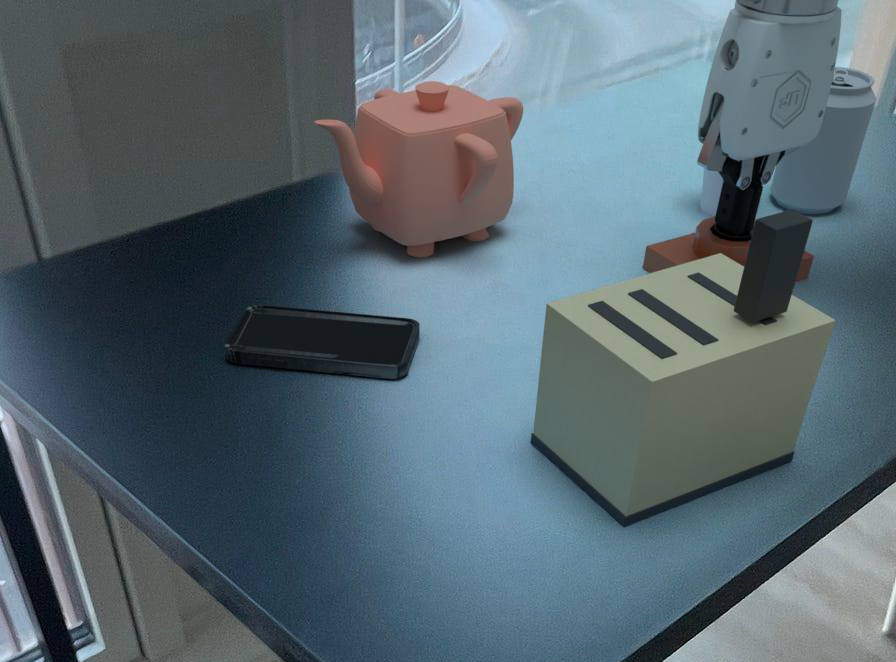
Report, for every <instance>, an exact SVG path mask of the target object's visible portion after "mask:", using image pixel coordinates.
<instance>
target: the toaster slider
mask: <svg viewBox="0 0 896 662" xmlns="http://www.w3.org/2000/svg"><path fill="white" fill-rule="evenodd" d="M755 220H756V221H755V225H754V230H753V234H752V238H751V242H750V246H749V250H748V254H747V258H746V262H745V266H744V270H743V274H742V278H741V282H740V286H739V290H738V294H737V298H736V302H735V306H734V312H736V313H737V314H739V315H740V316H742V317H744V318H745V319H747V320H748V321H750V322H752V323H753V322H757V321H760V320H763V319H766V318H769V317H772V316H775V315H778V314H781V313H784V312H787V309H788V306H789V302H790V299H791V295H793V291H794V289H795V288H794V287H795V285H796V282H795V281H796V278H797V274H798V271H799V267H800V264H801V260H802V257H803V254H804V251H806V250H805V249H806V245H807V243H808V239H809V236H810V232H811V229H812V226H813V223H814V220H813V219H812V218H811V217H808V216H807V215H806V214H803V213H799V212H797V211H795V210H793V209H791V210H783V211H781V212H777V213H774V214H769V215H766V216H763V217H759V218H755Z"/></svg>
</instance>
